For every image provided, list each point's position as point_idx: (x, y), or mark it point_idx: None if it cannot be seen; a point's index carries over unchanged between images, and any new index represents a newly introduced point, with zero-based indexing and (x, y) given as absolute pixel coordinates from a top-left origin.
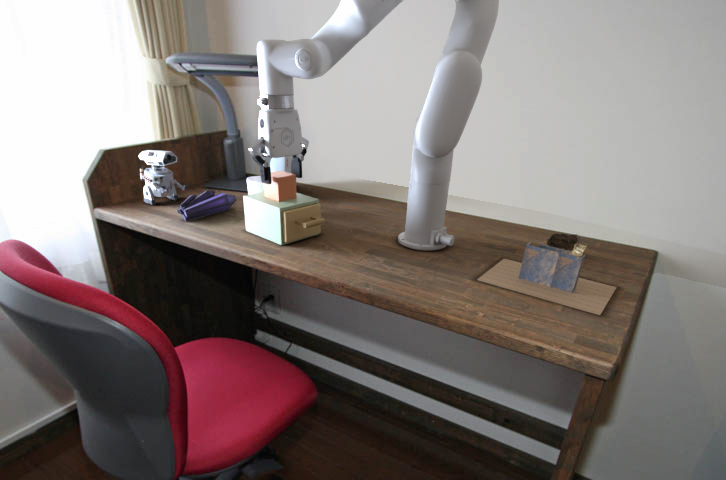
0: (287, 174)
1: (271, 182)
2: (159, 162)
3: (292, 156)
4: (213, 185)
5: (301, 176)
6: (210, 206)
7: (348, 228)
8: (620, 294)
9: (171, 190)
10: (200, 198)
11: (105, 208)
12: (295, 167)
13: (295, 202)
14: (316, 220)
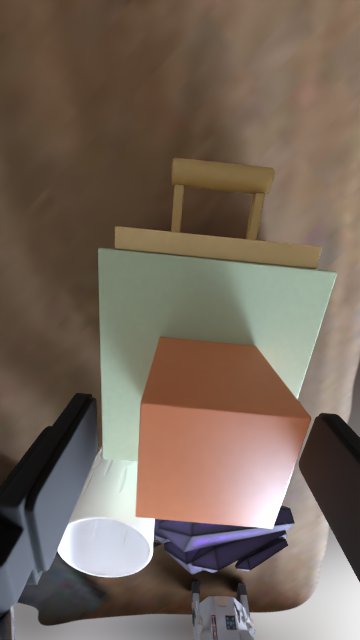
0: (183, 439)
1: (322, 418)
2: None
3: (12, 636)
4: (84, 600)
5: (81, 396)
6: None
7: (31, 222)
8: None
9: (211, 609)
10: (241, 550)
11: (301, 603)
12: (69, 483)
13: (217, 290)
14: (215, 165)
